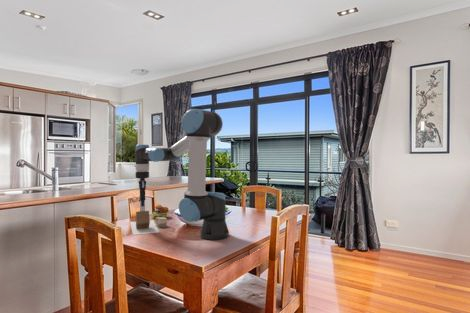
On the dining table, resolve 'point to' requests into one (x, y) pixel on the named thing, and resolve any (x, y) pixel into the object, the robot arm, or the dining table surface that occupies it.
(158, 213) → the cheeseburger
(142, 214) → the walnut block
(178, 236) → the dining table surface
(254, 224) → the dining table surface
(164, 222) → the maple block
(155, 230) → the placemat
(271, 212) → the dining table surface
